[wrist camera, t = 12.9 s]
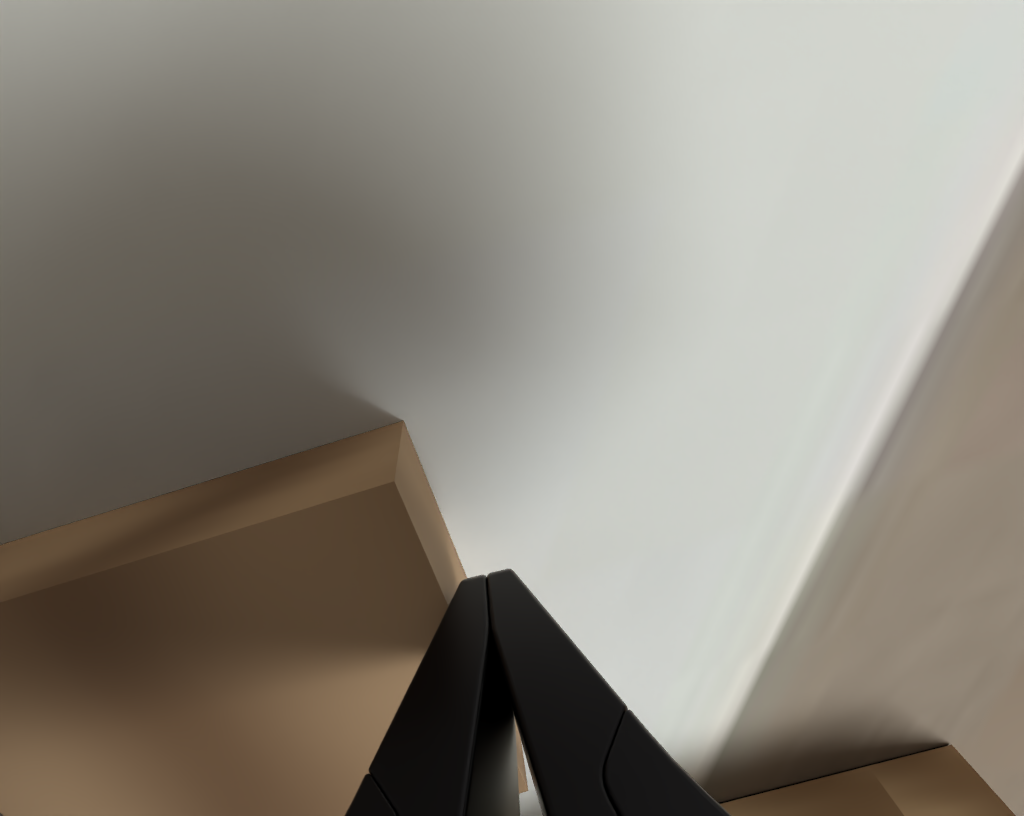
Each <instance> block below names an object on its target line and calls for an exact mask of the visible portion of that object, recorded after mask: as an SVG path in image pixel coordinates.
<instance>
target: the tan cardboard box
mask: <svg viewBox="0 0 1024 816" xmlns="http://www.w3.org/2000/svg"><path fill="white" fill-rule="evenodd" d="M464 579H467V577H466V574H465V572H464V569H463V567H462V564H461V562H460V559H459V557H458V554H457V552H456V549H455V547H454V544H453V542H452V539H451V537H450V534H449V532H448V529H447V527H446V525H445V522H444V520H443V517H442V515H441V512H440V510H439V507H438V505H437V502H436V500H435V497H434V495H433V492H432V490H431V487H430V485H429V482H428V480H427V478H426V475H425V473H424V470H423V468H422V465H421V463H420V460H419V458H418V455H417V453H416V450H415V448H414V445H413V443H412V440H411V438H410V435H409V433H408V430H407V428H406V426H405V423H404V421H401V422H397V423H394V424H391V425H388V426H384V427H381V428H378V429H375V430H371V431H368V432H365V433H362V434H358V435H355V436H352V437H349V438H346V439H342V440H339V441H336V442H333V443H329V444H326V445H323V446H320V447H316V448H313V449H310V450H307V451H303V452H300V453H297V454H294V455H290V456H287V457H284V458H281V459H277V460H274V461H271V462H268V463H264V464H261V465H258V466H255V467H251V468H248V469H245V470H242V471H239V472H235V473H232V474H229V475H226V476H222V477H219V478H216V479H213V480H209V481H206V482H203V483H200V484H196V485H193V486H190V487H187V488H183V489H180V490H177V491H174V492H170V493H167V494H164V495H161V496H157V497H154V498H151V499H148V500H144V501H141V502H138V503H135V504H132V505H128V506H125V507H122V508H119V509H115V510H112V511H109V512H106V513H102V514H99V515H96V516H93V517H89V518H86V519H83V520H80V521H76V522H73V523H70V524H67V525H63V526H60V527H57V528H54V529H50V530H47V531H44V532H41V533H37V534H34V535H31V536H28V537H25V538H21V539H18V540H15V541H12V542H8V543H5V544H2V545H0V813H1V814H2V815H3V816H345V814H346V812H347V810H348V808H349V806H350V804H351V802H352V801H353V798H354V796H355V794H356V792H357V790H358V788H359V786H360V784H361V782H362V780H363V778H364V776H365V775H366V774H369V771H368V769H369V766H370V764H371V762H372V760H373V758H374V756H375V754H376V752H377V750H378V748H379V746H380V744H381V742H382V740H383V738H384V736H385V734H386V732H387V730H388V728H389V726H390V724H391V722H392V720H393V718H394V716H395V714H396V712H397V710H398V708H399V706H400V704H401V701H402V699H403V697H404V695H405V693H406V691H407V689H408V687H409V685H410V683H411V681H412V679H413V677H414V675H415V673H416V671H417V669H418V667H419V665H420V663H421V661H422V659H423V657H424V655H425V653H426V651H427V649H428V647H429V645H430V643H431V641H432V638H433V636H434V634H435V632H436V630H437V628H438V626H439V624H440V622H441V620H442V618H443V616H444V614H445V612H446V610H447V608H448V606H449V604H450V602H451V600H452V598H453V596H454V594H455V592H456V590H457V588H458V586H459V584H460V582H461V581H462V580H464ZM514 717H515V716H514ZM515 729H516V745H517V765H518V786H519V793H522V792H526V791H528V786H527V779H526V772H525V765H524V758H523V751H522V744H521V738H520V735H519V731H518V727H517V724H516V720H515Z"/></svg>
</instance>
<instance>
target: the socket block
mask: <svg viewBox="0 0 1024 816" xmlns="http://www.w3.org/2000/svg"><path fill="white" fill-rule="evenodd" d="M720 805H721V806H722V807H723V808H724V809H725V810H726V811H727V812H728V813H729V814H731V815H732V816H1015V815H1014V813H1013V812H1012V811H1011V810H1010V809H1009V808H1008V807H1007V806H1006V804H1005V803H1004V802H1003V801H1002V800H1001V799H1000V798H999V797H998V796H997V794H996V793H995V792H994V791H993V790H992V789H991V788H990V787H989V786H988V784H987V783H986V782H985V781H984V780H983V779H982V778H981V777H980V776H979V774H978V773H977V772H976V771H975V770H974V769H973V768H972V767H971V766H970V764H969V763H968V762H967V761H966V760H965V759H964V758H963V757H962V756H961V754H960V753H959V752H958V751H957V750H956V749H955V748H954V747H953V746H952V745H949V746H945V747H941V748H937V749H933V750H929V751H925V752H921V753H917V754H913V755H909V756H906V757H902V758H898V759H894V760H890V761H886V762H882V763H878V764H874V765H870V766H866V767H863V768H859V769H855V770H851V771H847V772H843V773H839V774H835V775H831V776H827V777H823V778H820V779H816V780H812V781H808V782H804V783H800V784H796V785H792V786H788V787H784V788H780V789H777V790H773V791H769V792H765V793H761V794H757V795H753V796H749V797H745V798H741V799H737V800H733V801H730V802H726V803H722V804H720Z"/></svg>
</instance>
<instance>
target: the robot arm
mask: <svg viewBox="0 0 1024 816" xmlns="http://www.w3.org/2000/svg"><path fill="white" fill-rule="evenodd" d="M514 716H515V717H514ZM515 720H516V724H517V727H518V731H519V735H520V738H521V741H522V745H523V748H524V752H525V755H526V759H527V762H528V765H529V769H530V772H531V776H532V779H533V783H534V786H535V789H536V793H537V796H538V800H539V803H540V807H541V810H542V813H543V816H732V815H731V814H729V813H728V812H727V811H726V810H725V809H724V808H723V807H722V806H721V805H720V804H719V803H718V802H717V801H716V800H714V799H713V798H712V797H711V796H710V795H709V794H708V793H707V792H706V791H705V790H704V789H703V788H702V787H701V786H700V785H699V784H698V783H697V782H696V781H695V780H694V779H693V778H692V777H691V776H690V775H689V774H688V773H687V772H686V771H685V770H684V769H683V768H682V767H681V766H680V765H679V764H678V763H677V762H676V761H675V760H674V759H673V758H672V757H671V756H670V755H669V754H668V752H667V751H666V750H665V749H664V748H663V747H662V746H661V745H660V744H659V742H658V741H657V740H656V739H655V738H654V737H653V736H652V735H651V734H650V732H649V731H648V730H647V729H646V728H645V727H644V725H643V724H642V723H641V722H640V721H639V719H638V718H637V717H636V716H635V715H634V713H633V712H632V711H631V710H628V709H627V706H626V704H625V703H624V702H623V701H622V700H621V698H620V697H619V696H618V695H617V694H616V692H615V691H614V690H613V689H612V688H611V687H610V685H609V684H608V683H607V682H606V681H605V679H604V678H603V677H602V676H601V675H600V673H599V672H598V671H597V670H596V669H595V667H594V666H593V665H592V664H591V663H590V661H589V660H588V659H587V658H586V657H585V656H584V654H583V653H582V652H581V651H580V650H579V648H578V647H577V646H576V645H575V644H574V642H573V641H572V640H571V639H570V638H569V636H568V635H567V634H566V633H565V632H564V631H563V629H562V628H561V627H560V626H559V625H558V623H557V622H556V621H555V620H554V619H553V617H552V616H551V615H550V614H549V613H548V611H547V610H546V609H545V608H544V607H543V605H542V604H541V603H540V602H539V601H538V600H537V598H536V597H535V596H534V595H533V594H532V592H531V591H530V590H529V589H528V588H527V586H526V585H525V584H524V583H523V582H522V580H521V579H520V578H519V577H518V576H517V575H516V573H515V572H514V571H513V570H511V569H505V570H501V571H496V572H492V573H489V574H488V576H487V577H486V576H485V575H479V576H475V577H471V578H467V579H464V580H462V581H461V582H460V584H459V586H458V588H457V590H456V592H455V594H454V596H453V598H452V600H451V602H450V604H449V606H448V608H447V610H446V612H445V614H444V616H443V618H442V620H441V622H440V624H439V626H438V628H437V630H436V632H435V634H434V636H433V638H432V641H431V643H430V645H429V647H428V649H427V651H426V653H425V655H424V657H423V659H422V661H421V663H420V665H419V667H418V669H417V671H416V673H415V675H414V677H413V679H412V681H411V683H410V685H409V687H408V689H407V691H406V693H405V695H404V697H403V699H402V701H401V704H400V706H399V708H398V710H397V712H396V714H395V716H394V718H393V720H392V722H391V724H390V726H389V728H388V730H387V732H386V734H385V736H384V738H383V740H382V742H381V744H380V746H379V748H378V750H377V752H376V754H375V756H374V758H373V760H372V762H371V764H370V766H369V769H368V771H369V774H366V775H365V776H364V778H363V780H362V782H361V784H360V786H359V788H358V790H357V792H356V794H355V796H354V798H353V801H352V802H351V804H350V806H349V808H348V810H347V812H346V814H345V816H520V806H519V786H518V765H517V745H516V729H515Z"/></svg>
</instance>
